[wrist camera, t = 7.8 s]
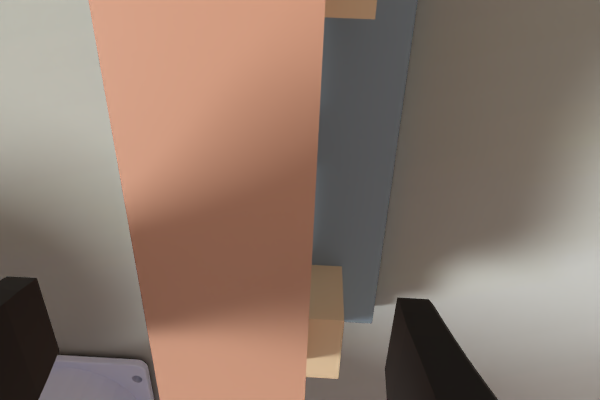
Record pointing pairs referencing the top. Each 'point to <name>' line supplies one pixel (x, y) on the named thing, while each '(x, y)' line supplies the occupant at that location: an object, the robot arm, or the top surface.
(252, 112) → the terracotta bar
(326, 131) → the stand
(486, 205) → the top surface
